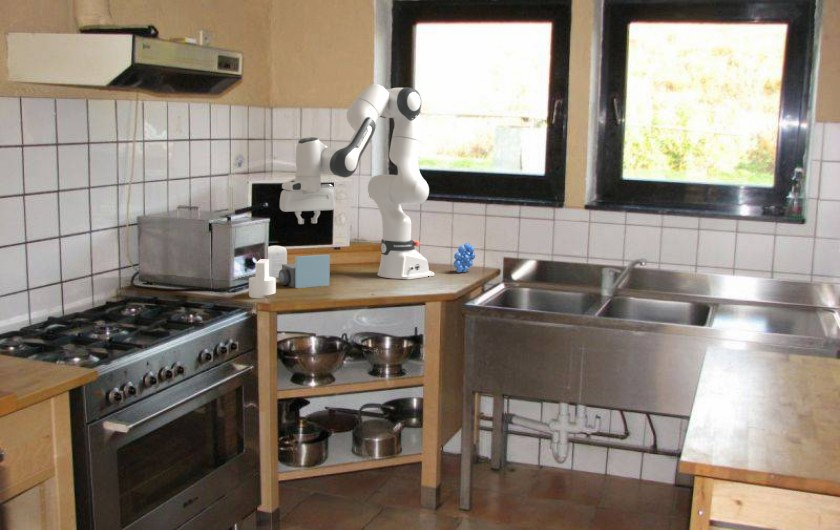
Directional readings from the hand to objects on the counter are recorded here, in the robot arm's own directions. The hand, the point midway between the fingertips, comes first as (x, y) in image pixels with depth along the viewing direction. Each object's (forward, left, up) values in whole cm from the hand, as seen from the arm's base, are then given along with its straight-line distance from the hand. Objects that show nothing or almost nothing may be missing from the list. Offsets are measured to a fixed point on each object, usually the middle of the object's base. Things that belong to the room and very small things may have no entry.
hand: (307, 223), depth 327 cm
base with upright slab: (+20, +7, -23) cm, 31 cm away
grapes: (-71, -3, -23) cm, 75 cm away
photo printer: (+3, -21, -23) cm, 32 cm away
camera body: (+1, -1, -23) cm, 23 cm away
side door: (0, +4, -22) cm, 22 cm away
